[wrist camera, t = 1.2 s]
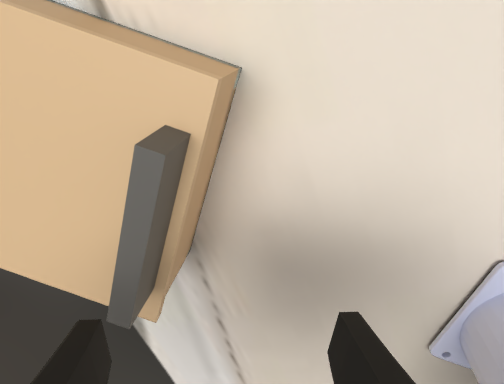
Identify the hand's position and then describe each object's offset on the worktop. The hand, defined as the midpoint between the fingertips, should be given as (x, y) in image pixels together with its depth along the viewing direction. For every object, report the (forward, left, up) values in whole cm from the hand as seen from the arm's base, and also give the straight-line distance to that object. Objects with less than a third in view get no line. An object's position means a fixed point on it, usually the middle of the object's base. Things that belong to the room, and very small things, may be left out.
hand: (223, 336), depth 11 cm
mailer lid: (+13, 0, -5) cm, 14 cm away
